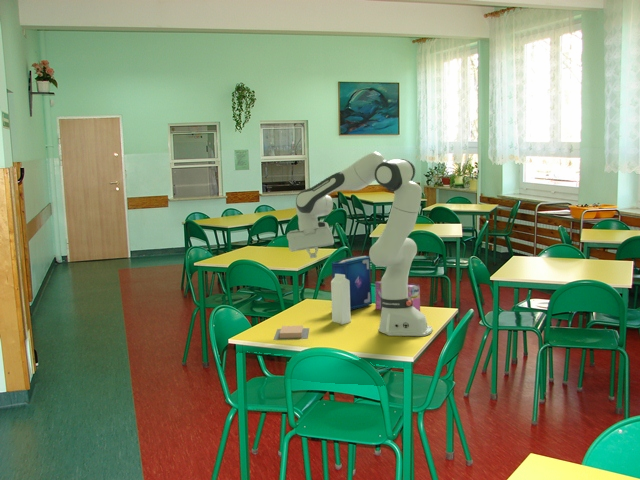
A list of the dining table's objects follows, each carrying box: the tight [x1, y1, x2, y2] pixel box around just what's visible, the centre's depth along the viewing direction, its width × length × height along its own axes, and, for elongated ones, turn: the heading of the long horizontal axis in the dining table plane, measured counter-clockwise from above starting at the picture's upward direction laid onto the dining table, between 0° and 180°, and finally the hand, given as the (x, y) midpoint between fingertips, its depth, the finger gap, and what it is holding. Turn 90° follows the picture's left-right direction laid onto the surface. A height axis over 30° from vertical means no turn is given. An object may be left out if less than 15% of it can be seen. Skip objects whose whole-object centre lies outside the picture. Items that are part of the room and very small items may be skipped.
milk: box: [330, 274, 352, 326], centre depth 290 cm, size 6×6×22 cm
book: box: [331, 255, 373, 311], centre depth 318 cm, size 22×7×25 cm, turn 132°
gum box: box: [374, 281, 421, 312], centre depth 310 cm, size 24×8×14 cm, turn 40°
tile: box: [280, 325, 304, 338], centre depth 271 cm, size 2×9×12 cm
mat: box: [273, 327, 310, 341], centre depth 272 cm, size 17×14×1 cm
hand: (313, 257), depth 285 cm, fingers closed
